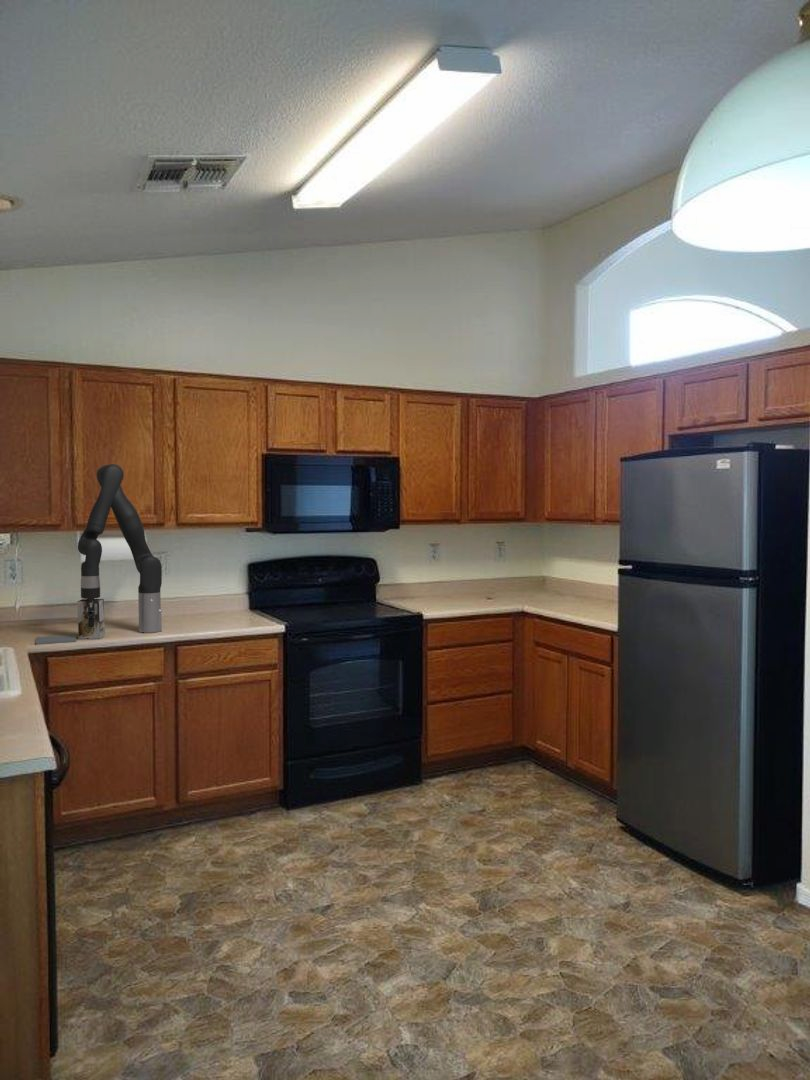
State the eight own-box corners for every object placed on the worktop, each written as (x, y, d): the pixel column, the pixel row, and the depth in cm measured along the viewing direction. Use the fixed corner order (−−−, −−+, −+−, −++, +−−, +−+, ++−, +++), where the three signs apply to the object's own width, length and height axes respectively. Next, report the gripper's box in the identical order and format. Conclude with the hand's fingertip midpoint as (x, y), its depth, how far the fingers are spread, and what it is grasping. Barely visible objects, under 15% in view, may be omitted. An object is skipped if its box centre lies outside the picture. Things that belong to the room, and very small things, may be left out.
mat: (75, 636, 331) (75, 634, 331) (76, 641, 318) (76, 640, 318) (36, 638, 325) (36, 637, 325) (35, 644, 312) (35, 643, 312)
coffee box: (105, 636, 330) (104, 598, 329) (100, 639, 324) (99, 600, 323) (83, 636, 330) (82, 598, 329) (77, 639, 323) (76, 600, 322)
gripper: (100, 588, 321) (101, 627, 322) (99, 584, 334) (100, 622, 335) (80, 588, 318) (81, 628, 319) (80, 584, 331) (81, 623, 332)
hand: (91, 625), depth 327 cm, fingers closed on coffee box, 7 cm apart
